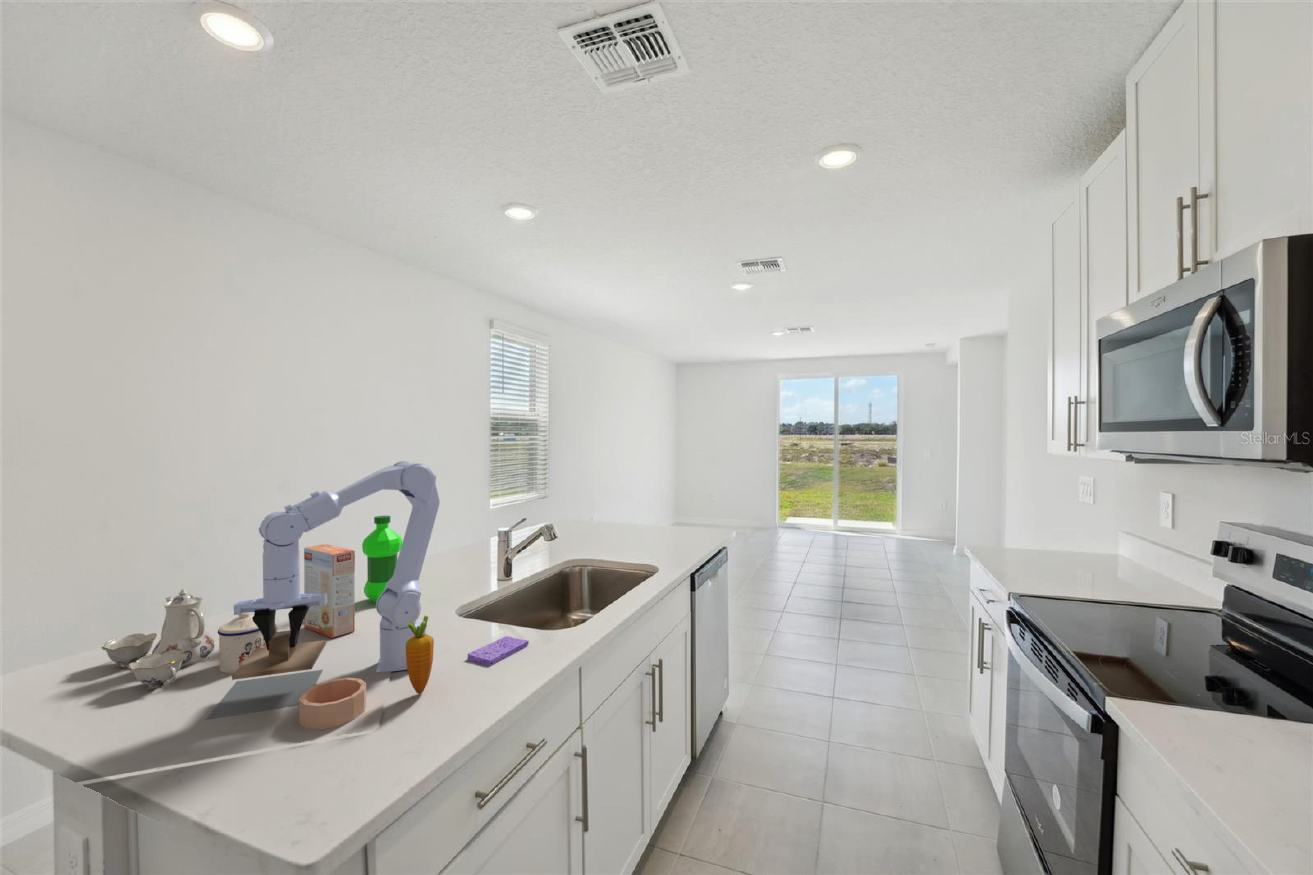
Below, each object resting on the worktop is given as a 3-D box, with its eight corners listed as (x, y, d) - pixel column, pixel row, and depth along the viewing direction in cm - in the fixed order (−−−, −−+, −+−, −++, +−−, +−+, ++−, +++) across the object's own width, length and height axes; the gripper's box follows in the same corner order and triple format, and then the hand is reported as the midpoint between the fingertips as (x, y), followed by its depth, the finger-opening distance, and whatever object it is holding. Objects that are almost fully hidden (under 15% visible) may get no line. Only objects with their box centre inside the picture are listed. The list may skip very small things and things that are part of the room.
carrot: (406, 703, 101) (406, 623, 100) (405, 691, 105) (404, 615, 105) (434, 697, 103) (434, 619, 103) (432, 686, 107) (432, 611, 107)
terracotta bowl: (369, 697, 103) (368, 674, 103) (361, 724, 93) (361, 699, 93) (308, 707, 99) (307, 683, 99) (293, 736, 90) (293, 710, 90)
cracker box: (356, 631, 135) (356, 549, 135) (331, 639, 130) (331, 554, 130) (328, 620, 143) (327, 542, 143) (303, 627, 138) (302, 546, 137)
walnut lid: (326, 644, 110) (325, 620, 110) (311, 669, 98) (311, 643, 98) (255, 652, 105) (255, 628, 105) (232, 679, 94) (231, 652, 94)
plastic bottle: (409, 597, 163) (409, 515, 162) (378, 608, 153) (378, 520, 153) (386, 593, 167) (385, 513, 166) (355, 603, 157) (354, 518, 157)
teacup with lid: (241, 677, 111) (241, 621, 110) (206, 673, 113) (206, 617, 112) (292, 653, 122) (292, 602, 122) (260, 649, 124) (259, 599, 124)
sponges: (467, 661, 120) (467, 653, 120) (506, 642, 131) (506, 634, 131) (490, 668, 116) (490, 660, 116) (529, 647, 128) (529, 639, 128)
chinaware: (88, 676, 114) (75, 601, 113) (184, 640, 129) (174, 574, 127) (149, 707, 102) (136, 624, 100) (248, 664, 117) (238, 591, 115)
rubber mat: (323, 671, 113) (323, 669, 113) (305, 706, 99) (305, 703, 99) (236, 683, 108) (236, 681, 108) (205, 722, 94) (205, 719, 94)
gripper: (226, 585, 95) (227, 661, 96) (321, 577, 100) (321, 649, 101) (241, 575, 102) (242, 646, 102) (329, 568, 107) (329, 635, 107)
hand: (282, 646), depth 102 cm, fingers closed on walnut lid, 3 cm apart
